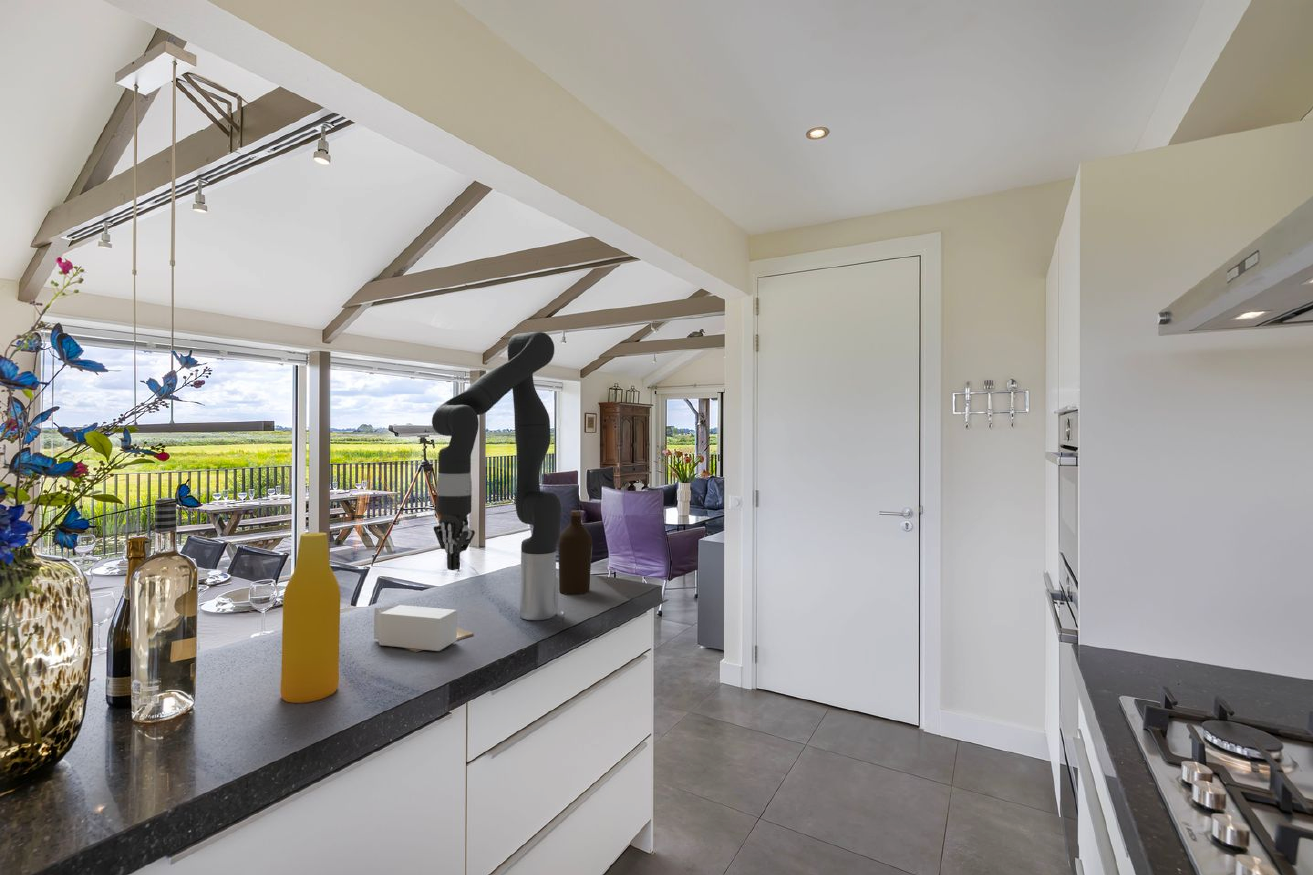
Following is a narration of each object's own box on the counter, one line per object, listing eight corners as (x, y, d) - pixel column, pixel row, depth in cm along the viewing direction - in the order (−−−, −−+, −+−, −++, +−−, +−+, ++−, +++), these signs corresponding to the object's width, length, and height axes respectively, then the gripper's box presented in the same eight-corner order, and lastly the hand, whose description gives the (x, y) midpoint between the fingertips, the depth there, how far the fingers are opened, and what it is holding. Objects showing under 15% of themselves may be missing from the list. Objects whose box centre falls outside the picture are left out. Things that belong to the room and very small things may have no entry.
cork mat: (441, 624, 150) (442, 622, 150) (473, 635, 142) (473, 633, 142) (384, 639, 138) (384, 637, 138) (415, 652, 130) (415, 650, 130)
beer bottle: (267, 701, 105) (271, 536, 105) (306, 680, 114) (310, 529, 114) (313, 706, 103) (317, 539, 103) (349, 685, 112) (353, 531, 112)
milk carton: (440, 618, 129) (364, 611, 133) (439, 651, 129) (363, 643, 133) (458, 609, 136) (384, 603, 140) (457, 640, 136) (384, 633, 140)
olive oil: (566, 597, 178) (567, 513, 178) (551, 589, 187) (553, 510, 187) (597, 592, 184) (599, 511, 184) (581, 585, 193) (583, 508, 193)
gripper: (486, 493, 134) (485, 570, 134) (451, 490, 142) (450, 562, 142) (457, 496, 128) (456, 576, 128) (422, 492, 136) (421, 567, 136)
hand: (453, 569), depth 135 cm, fingers closed
